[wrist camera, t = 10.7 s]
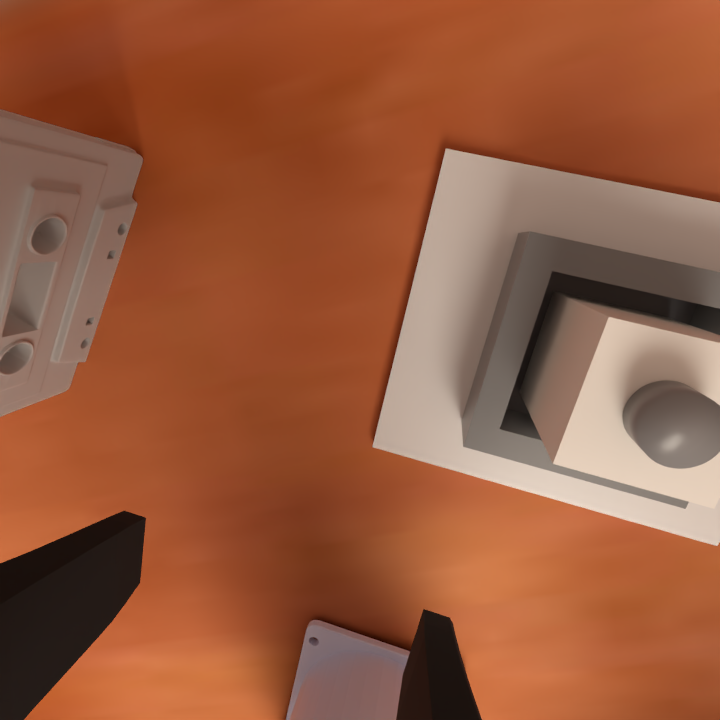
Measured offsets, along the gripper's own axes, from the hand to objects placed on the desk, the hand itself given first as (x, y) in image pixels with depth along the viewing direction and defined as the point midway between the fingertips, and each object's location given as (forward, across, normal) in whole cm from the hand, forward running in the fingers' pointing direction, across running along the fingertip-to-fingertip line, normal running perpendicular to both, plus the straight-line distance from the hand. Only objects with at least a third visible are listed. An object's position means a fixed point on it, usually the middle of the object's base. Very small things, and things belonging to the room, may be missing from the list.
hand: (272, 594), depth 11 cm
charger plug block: (+9, -8, -6) cm, 13 cm away
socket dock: (+9, -8, -6) cm, 14 cm away
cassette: (+10, +13, -4) cm, 17 cm away
